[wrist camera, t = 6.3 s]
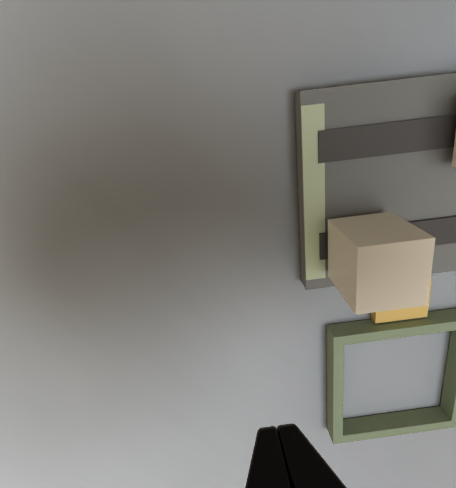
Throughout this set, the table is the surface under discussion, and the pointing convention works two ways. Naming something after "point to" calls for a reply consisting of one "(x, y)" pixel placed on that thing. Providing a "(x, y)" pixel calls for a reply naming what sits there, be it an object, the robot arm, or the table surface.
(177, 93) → the table surface
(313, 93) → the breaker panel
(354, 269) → the toggle
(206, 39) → the table surface
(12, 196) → the table surface
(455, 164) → the toggle
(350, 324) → the frame
